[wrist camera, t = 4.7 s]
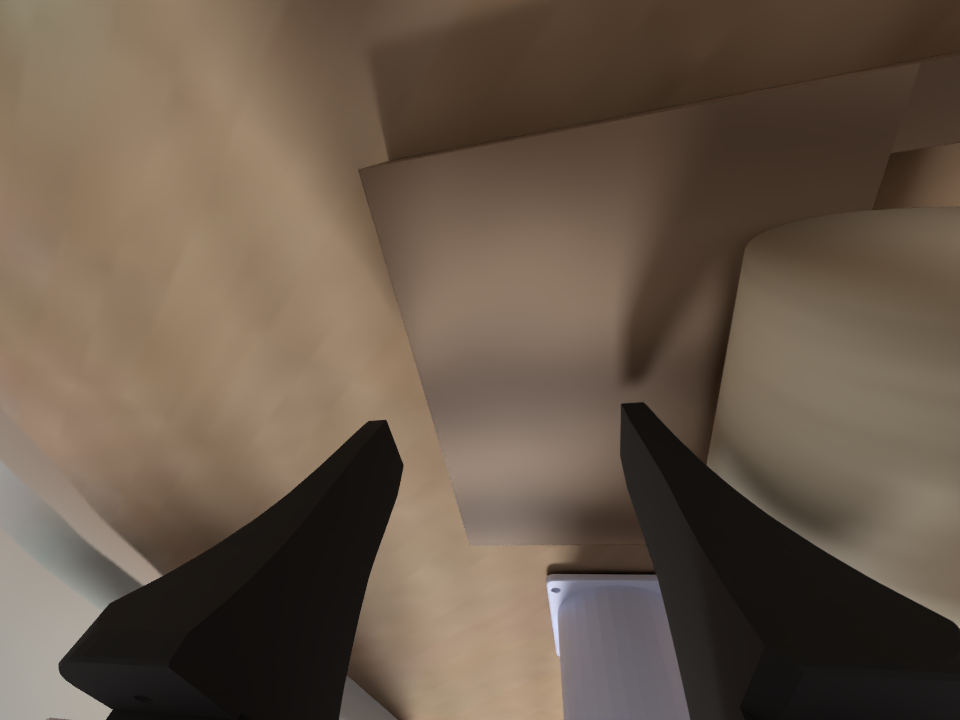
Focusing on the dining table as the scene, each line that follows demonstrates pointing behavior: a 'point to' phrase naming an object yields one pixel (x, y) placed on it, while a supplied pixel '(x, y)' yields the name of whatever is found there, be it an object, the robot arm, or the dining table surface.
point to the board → (615, 276)
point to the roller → (852, 393)
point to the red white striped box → (361, 705)
